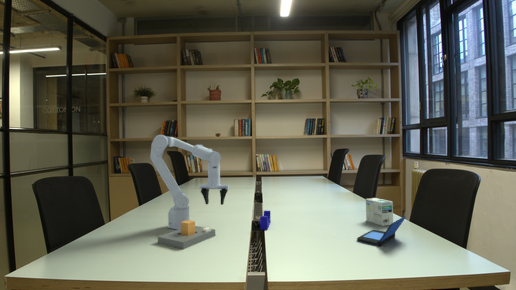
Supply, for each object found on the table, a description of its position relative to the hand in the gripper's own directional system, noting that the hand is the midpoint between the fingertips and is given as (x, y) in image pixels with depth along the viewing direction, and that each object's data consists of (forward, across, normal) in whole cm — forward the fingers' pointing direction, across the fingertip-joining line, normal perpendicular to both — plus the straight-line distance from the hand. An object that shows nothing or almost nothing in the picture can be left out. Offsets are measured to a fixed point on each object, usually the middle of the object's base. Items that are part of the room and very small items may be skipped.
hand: (214, 204), depth 140 cm
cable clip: (+10, +24, -1) cm, 26 cm away
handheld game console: (+10, +73, -13) cm, 74 cm away
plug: (+9, -3, -23) cm, 25 cm away
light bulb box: (+10, +77, +12) cm, 78 cm away
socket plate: (+9, -3, -23) cm, 25 cm away
